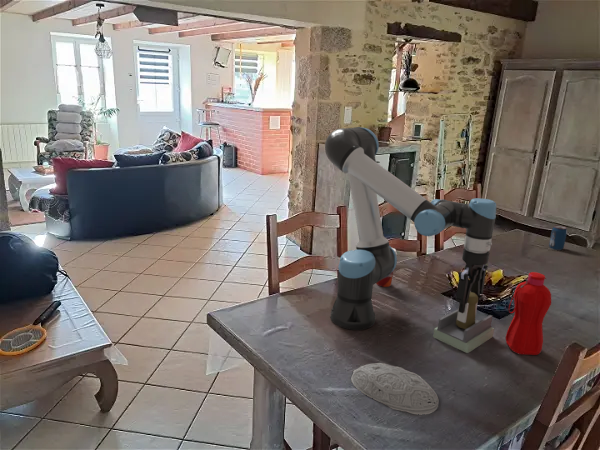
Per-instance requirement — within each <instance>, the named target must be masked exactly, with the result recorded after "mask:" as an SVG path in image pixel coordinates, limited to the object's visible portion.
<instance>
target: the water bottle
mask: <svg viewBox="0 0 600 450" xmlns="http://www.w3.org/2000/svg"><path fill="white" fill-rule="evenodd" d="M545 279H546V280H547V278H546V276H545V275H544V274H542V273H540V272H537V271H532V272H529V273H528V276H527V279H526V281H523V282H520V283H518V284H517V286H516V288H515V290H514V293H513V296H512V298H511V300H510V302H509V305H508V309H510V307H511V304H512V302H514V308H513V310H512V311H510V310H508V312H509V313H510V314H513V313H514V315H513V318H512V320H511V322H510V324H509V326H508V328H507V332H506V334H505V342H506V345H507V346H508V347H509V349H510V350H511V351H512V352H513V353H515V354H518V355H528V356H531V355H532V356H537V355H539V354H540V353H541V352H542V350H543V345H544V333H543V332H544V331H543V324H544V323H543V322H544V319H545V316H546V314H547V313H548V311H549V310H550V307H551V305H552V293H551V291H550V289H549V288H548V287H547V286H546V285H545V284H544V283H545Z"/></svg>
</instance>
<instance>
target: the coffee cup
mask: <svg viewBox="0 0 600 450" xmlns="http://www.w3.org/2000/svg"><path fill="white" fill-rule="evenodd" d="M391 248H392V249H393V250H394V251H395V253H396V256H397V255H398V252H397V249H396V248H393V247H391ZM393 275H394V271H393V272H392V273H391V274H390V275H389V276H387V277H386V278H383V279H382V280H380V281H379V282H377V283H375V285H377V286H379V287H381V286H382V287H383V288H388V287H391V285H392V281H393Z"/></svg>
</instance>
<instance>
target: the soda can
mask: <svg viewBox="0 0 600 450" xmlns="http://www.w3.org/2000/svg"><path fill="white" fill-rule="evenodd" d="M567 233H568V230H567V227H566V226H563V225H556V224H555V225H554V226H553V227H552V229H551V233H550V238H549V243H548V246H549V249H551V250H553V251H554V250H555V251H562V250H563V249H564V247H565V243H566V239H567Z"/></svg>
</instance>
